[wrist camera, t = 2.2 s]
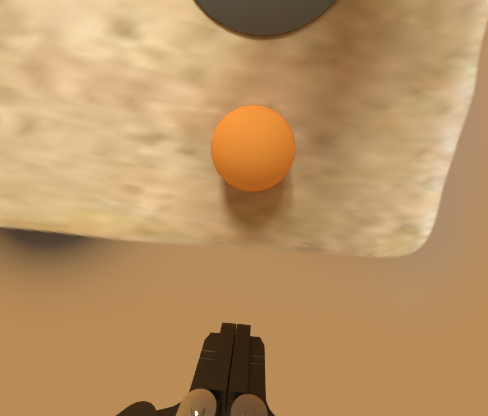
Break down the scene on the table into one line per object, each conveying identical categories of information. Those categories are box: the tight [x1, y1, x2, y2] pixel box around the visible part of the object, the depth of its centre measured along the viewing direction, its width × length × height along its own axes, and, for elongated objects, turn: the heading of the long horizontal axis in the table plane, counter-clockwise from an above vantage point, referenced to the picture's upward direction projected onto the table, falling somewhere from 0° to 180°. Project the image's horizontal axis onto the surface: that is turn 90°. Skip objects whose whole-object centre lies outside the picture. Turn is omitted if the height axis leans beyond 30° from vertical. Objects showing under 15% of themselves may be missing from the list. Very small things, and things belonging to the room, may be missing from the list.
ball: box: [211, 105, 295, 191], centre depth 17 cm, size 6×6×6 cm
